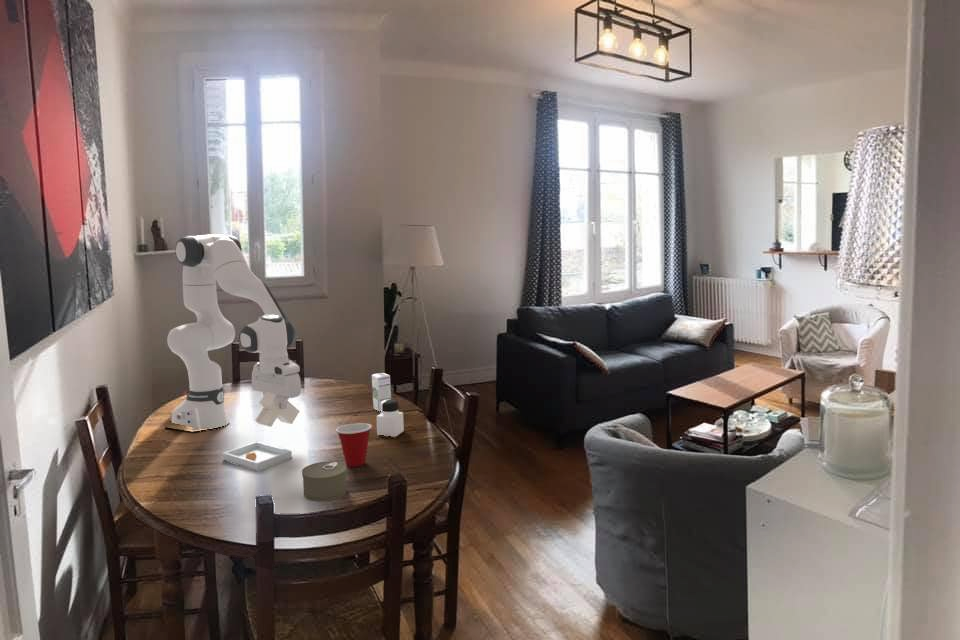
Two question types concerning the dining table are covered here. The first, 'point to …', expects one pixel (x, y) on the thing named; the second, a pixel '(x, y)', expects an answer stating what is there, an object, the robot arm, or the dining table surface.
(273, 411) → the white block with shelf
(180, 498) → the dining table surface
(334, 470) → the can
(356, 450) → the plastic cup
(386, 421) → the medicine bottle
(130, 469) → the dining table surface
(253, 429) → the dining table surface
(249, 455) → the ball
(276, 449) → the tray
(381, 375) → the syrup box
